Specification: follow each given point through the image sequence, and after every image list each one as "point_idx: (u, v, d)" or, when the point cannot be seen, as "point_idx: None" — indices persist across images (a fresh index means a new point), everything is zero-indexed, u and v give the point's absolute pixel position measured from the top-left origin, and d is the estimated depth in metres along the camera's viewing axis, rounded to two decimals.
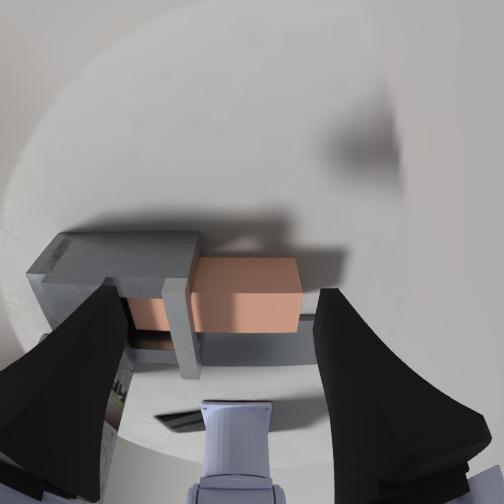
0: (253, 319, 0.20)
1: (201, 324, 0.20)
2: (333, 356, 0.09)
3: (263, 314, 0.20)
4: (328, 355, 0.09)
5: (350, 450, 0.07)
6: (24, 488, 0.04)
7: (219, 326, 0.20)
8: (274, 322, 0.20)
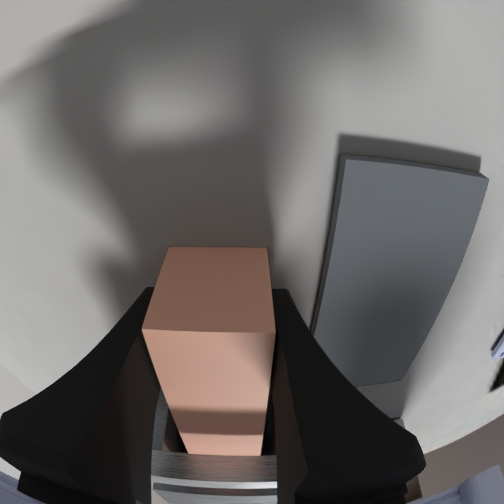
0: (227, 391, 0.10)
1: (244, 432, 0.11)
2: (274, 358, 0.09)
3: (212, 381, 0.09)
4: None
5: (283, 457, 0.07)
6: (24, 488, 0.04)
7: (249, 420, 0.11)
8: (237, 368, 0.09)
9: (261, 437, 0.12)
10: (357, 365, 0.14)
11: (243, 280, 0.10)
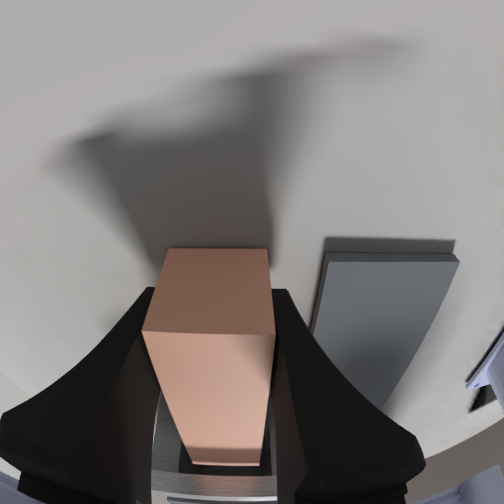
0: (227, 393, 0.10)
1: (244, 433, 0.11)
2: (274, 358, 0.09)
3: (212, 382, 0.09)
4: None
5: (283, 457, 0.07)
6: (24, 488, 0.04)
7: (249, 422, 0.11)
8: (237, 370, 0.09)
9: (261, 438, 0.12)
10: None
11: (243, 282, 0.10)
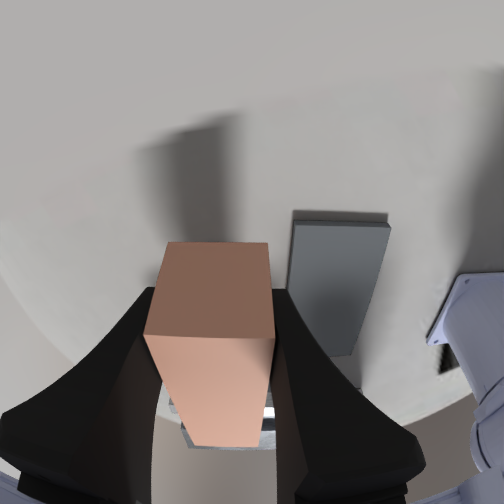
0: (227, 387, 0.10)
1: (244, 420, 0.12)
2: (274, 358, 0.09)
3: (213, 378, 0.09)
4: None
5: (283, 457, 0.07)
6: (24, 488, 0.04)
7: (249, 411, 0.11)
8: (237, 368, 0.09)
9: (260, 424, 0.12)
10: None
11: (243, 280, 0.10)
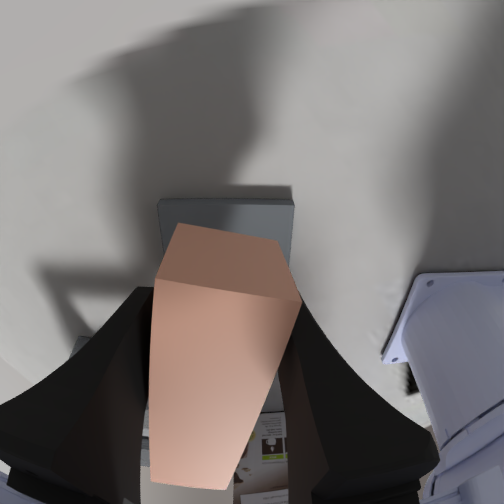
0: (225, 381, 0.08)
1: (225, 442, 0.10)
2: (286, 358, 0.09)
3: (214, 363, 0.08)
4: (283, 357, 0.09)
5: (296, 456, 0.07)
6: (24, 488, 0.04)
7: (237, 426, 0.09)
8: (247, 347, 0.08)
9: (242, 451, 0.10)
10: None
11: (260, 259, 0.09)
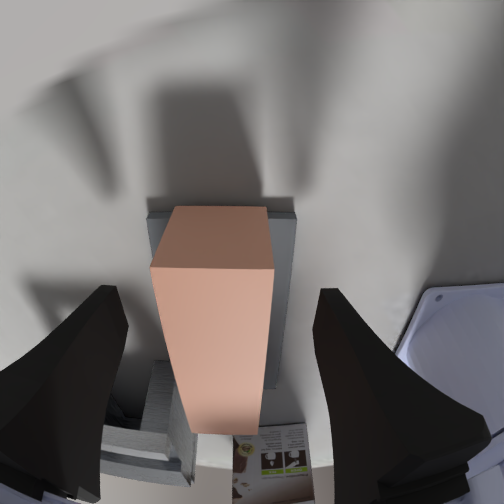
0: (227, 339, 0.10)
1: (244, 391, 0.12)
2: (333, 356, 0.09)
3: (214, 326, 0.10)
4: (328, 355, 0.09)
5: (350, 450, 0.07)
6: (24, 488, 0.04)
7: (248, 376, 0.12)
8: (237, 310, 0.10)
9: (260, 398, 0.13)
10: None
11: (244, 230, 0.11)
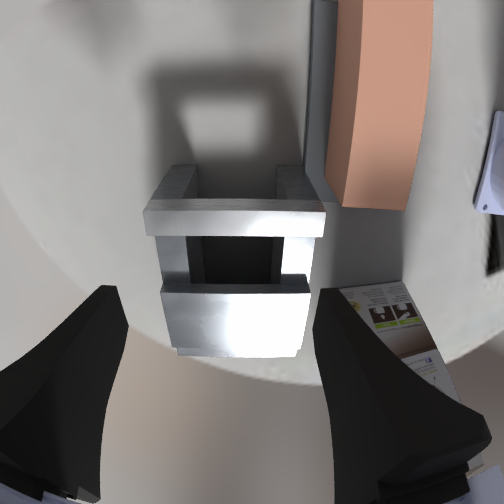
0: (406, 47, 0.10)
1: (410, 119, 0.12)
2: (333, 356, 0.09)
3: (399, 32, 0.10)
4: (328, 355, 0.09)
5: (350, 450, 0.07)
6: (24, 488, 0.04)
7: (416, 96, 0.12)
8: (414, 22, 0.10)
9: (420, 132, 0.13)
10: None
11: None
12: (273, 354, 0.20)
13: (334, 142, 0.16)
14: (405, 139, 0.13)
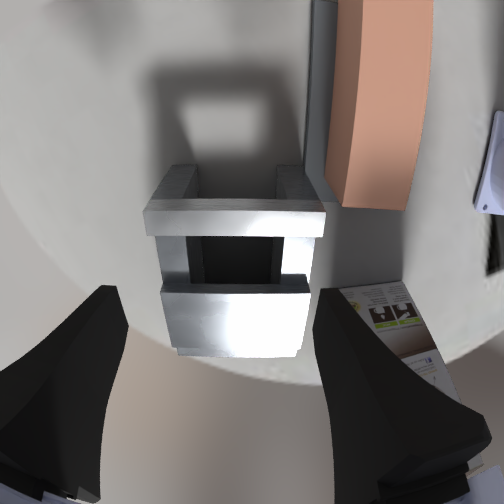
0: (406, 47, 0.10)
1: (410, 119, 0.12)
2: (333, 356, 0.09)
3: (399, 32, 0.10)
4: (328, 355, 0.09)
5: (350, 450, 0.07)
6: (24, 488, 0.04)
7: (416, 96, 0.12)
8: (414, 22, 0.10)
9: (420, 132, 0.13)
10: None
11: None
12: (273, 354, 0.20)
13: (334, 142, 0.16)
14: (405, 139, 0.13)
